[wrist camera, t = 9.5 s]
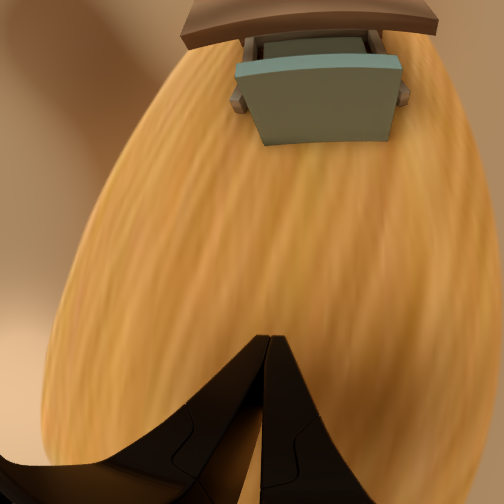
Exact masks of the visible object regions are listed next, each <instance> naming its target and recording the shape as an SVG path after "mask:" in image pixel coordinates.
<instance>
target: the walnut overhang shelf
mask: <svg viewBox="0 0 504 504" xmlns="http://www.w3.org/2000/svg"><path fill="white" fill-rule="evenodd" d="M438 21H439V20H438V18H437V17H436V15H435V14H434V13H433V12H432V10H431V9H430V8H429V6H428V5H427V4H426V2H425V1H424V0H195V1H194V3H193V6H192V8H191V10H190V13H189V15H188V18H187V20H186V22H185V25H184V28H183V30H182V32H181V35H180V37H181V38H182V40H183V42H184V43H185V45H186V47H187V48H188V50H192V49H196V48H200V47H204V46H208V45H212V44H216V43H221V42H226V41H230V40H236V39H239V40H240V43H241V45H242V47H244V54H243V62H250V61H256V60H257V57H258V49H262V48H264V43H268V42H276V41H285V40H295V39H308V38H328V37H361V38H362V41H363V42H367V43H368V44H369V46H370V49H371V52H372V54H384V55H387V53H386V50H385V48H384V46H383V43H382V41H381V39H380V38H382V30H392V31H403V32H412V33H420V34H427V35H434V36H436V30H437V26H438ZM409 96H410V90H409V89H408V87H407V86H406V85H405V84H404V82H403V81H402V80H401V81H400V87H399V92H398V97H397V102H396V103H397V105H398V106H404V105H407V104H408V100H409ZM229 101H230V103H231V105H232V107H233V109H234V111H235V112H236V113H245V111H246V109H247V107H248V106H247V104H246V102H245V99H244V97H243V95H242V92H241V90H240V88H239V86H238V85H237V86H236V88H235V90H234V92H233V94H232V96H231V97H230V99H229Z"/></svg>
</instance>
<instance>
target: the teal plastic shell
mask: <svg viewBox="0 0 504 504" xmlns="http://www.w3.org/2000/svg"><path fill="white" fill-rule="evenodd" d="M402 70H403V69H402V66H401V64H400V61H399V59H398V57H397V55H384V54H367V52H366V49H365V46H364V43H363V41H362V38H361V37H328V38H308V39H295V40H285V41H276V42H268V43H264V57H263V60H256V61H250V62H243V63H238V64H236V71H235V79H236V81H237V83H238V86H239V88H240V90H241V92H242V95H243V97H244V99H245V102H246V104H247V106H248V108H249V111H250V113H251V115H252V118H253V120H254V122H255V125H256V127H257V130H258V132H259V134H260V137H261V139H262V142H263V144H264V146H269V145H281V144H296V143H314V142H344V141H388V137H389V133H390V128H391V124H392V120H393V115H394V111H395V106H396V102H397V97H398V92H399V87H400V81H401V76H402Z"/></svg>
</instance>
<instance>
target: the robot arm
mask: <svg viewBox="0 0 504 504" xmlns="http://www.w3.org/2000/svg"><path fill="white" fill-rule="evenodd" d="M319 415H320V414H319V412H318V409H317V407H316V405H315V403H314V400H313V398H312V396H311V394H310V391H309V389H308V387H307V385H306V382H305V380H304V378H303V375H302V373H301V371H300V369H299V366H298V364H297V362H296V360H295V357H294V355H293V353H292V350H291V348H290V346H289V344H288V341H287V339H286V337H285V336H283V335H272V336H271V337H270V336H269V335H256V336H255V337H254V338H253V339H252V340H251V341H250V342H249V343H248V344H247V345H246V346H245V347H244V348H243V349H242V350H241V351H240V352H239V353H238V354H237V355H236V356H235V357H234V358H232V359H231V360H230V361H229V362H228V363H227V364H226V365H225V366H224V367H223V368H222V369H221V370H220V371H219V372H218V373H217V374H216V375H215V376H214V377H213V378H212V379H211V380H210V381H209V382H208V383H206V384H205V385H204V386H203V387H202V388H201V389H200V390H199V391H198V392H197V393H196V394H195V395H194V396H192V397H191V398H190V399H189V400H188V401H187V402H186V404H184V405H182V406H181V407H180V408H179V409H178V410H177V411H176V412H175V413H173V414H172V415H171V416H170V417H169V418H167V419H166V420H165V421H164V422H163V423H161V424H160V425H159V426H157V427H156V428H154V429H153V430H152V431H150V432H149V433H147V434H146V435H144V436H143V437H141V438H140V439H138V440H137V441H135V442H134V443H132V444H131V445H129V446H128V447H126V448H124V449H123V450H121V451H120V452H118V453H116V454H115V455H113V456H111V457H109V458H107V459H105V460H103V461H100V462H96V463H92V464H81V465H62V466H28V465H20V464H15V463H12V462H10V461H8V460H6V459H5V458H3V457H2V456H1V455H0V504H237V503H238V500H239V497H240V493H241V490H242V487H243V484H244V481H245V478H246V474H247V471H248V468H249V465H250V461H251V458H252V455H253V451H254V448H255V445H256V441H257V438H258V434H259V431H260V427H261V423H262V451H261V481H260V489H261V491H260V504H376V503H375V502H374V501H373V500H372V499H371V497H370V496H369V495H368V494H367V492H366V491H365V490H364V488H363V487H362V485H361V484H360V482H359V481H358V480H357V478H356V477H355V475H354V474H353V472H352V471H351V469H350V468H349V466H348V465H347V463H346V462H345V460H344V459H343V457H342V456H341V454H340V453H339V451H338V449H337V448H336V446H335V444H334V443H333V441H332V439H331V437H330V435H329V433H328V431H327V429H326V427H325V425H324V423H323V420H322V418H321V416H319Z"/></svg>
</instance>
